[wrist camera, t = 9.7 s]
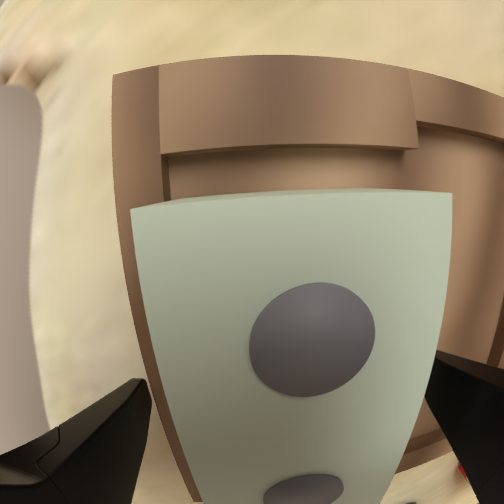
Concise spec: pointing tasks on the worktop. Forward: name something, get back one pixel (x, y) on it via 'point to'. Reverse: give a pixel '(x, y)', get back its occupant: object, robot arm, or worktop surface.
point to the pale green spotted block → (295, 334)
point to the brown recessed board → (320, 172)
